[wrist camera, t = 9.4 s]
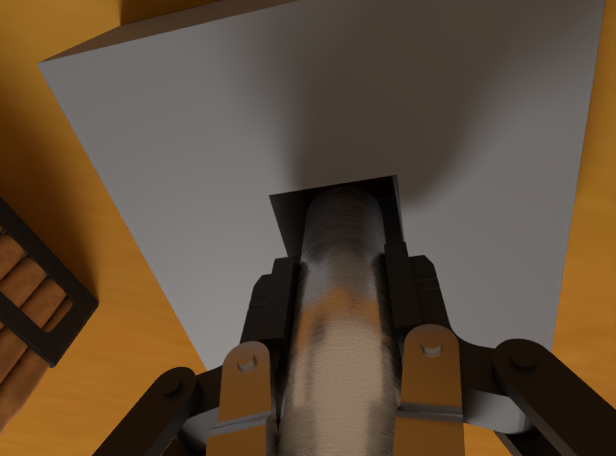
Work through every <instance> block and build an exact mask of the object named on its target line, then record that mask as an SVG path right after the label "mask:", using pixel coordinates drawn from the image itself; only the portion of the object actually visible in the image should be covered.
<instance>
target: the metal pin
mask: <svg viewBox="0 0 616 456" xmlns="http://www.w3.org/2000/svg"><path fill="white" fill-rule="evenodd" d="M384 244H386V240H385V233H384V226H383V218H382V212H381V209H380V206H379V204H378V203H377V201H376V200H375V199H374V198H373V197H372V196H371V195H370V194H368V193H367V192H365V191H363V190H360V189H358V188H354V187H335V188H331V189H328V190H326V191H324V192H322V193H320V194H319V195H318V196H317V197H315V198H314V200H313V201H312V202H311V204H310V205H309V207H308V210H307V214H306V222H305V230H304V238H303V246H302V254H301V262H300V270H299V278H298V285H297V293H296V301H295V309H294V317H293V325H292V333H291V341H290V349H289V357H288V365H287V373H286V381H285V389H284V397H283V405H282V413H281V421H280V429H279V440H278V456H393V445H394V432H395V419H396V411H397V408H398V407H400V399H401V385H402V370H403V365H402V357H401V352H400V349H399V347H398V345H397V342H396V336H395V329H394V322H393V314H392V306H391V298H390V291H389V283H388V275H387V267H386V259H385V252H384Z"/></svg>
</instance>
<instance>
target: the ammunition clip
mask: <svg viewBox="0 0 616 456" xmlns="http://www.w3.org/2000/svg"><path fill="white" fill-rule="evenodd" d="M97 307H98V301H97V300H96V299H95V298H94V297H93V296H92V295H91V294H90V293H89V291H88V290H87V289H86V288H85V287H84V286H83V285H82V284H81V283H80V282H79V281H78V280H77V279H76V277H75V276H74V275H73V274H72V273H71V272H70V271H69V270H68V269H67V268H66V267H65V266H64V265H63V263H62V262H61V261H60V260H59V259H58V258H57V257H56V256H55V255H54V254H53V253H52V252H51V251H50V249H49V248H48V247H47V246H46V245H45V244H44V243H43V242H42V241H41V240H40V239H39V238H38V237H37V235H36V234H35V233H34V232H33V231H32V230H31V229H30V228H29V227H28V226H27V225H26V224H25V223H24V221H23V220H22V219H21V218H20V217H19V216H18V215H17V214H16V213H15V212H14V211H13V210H12V209H11V208H10V206H9V205H8V204H7V203H6V202H5V201H4V200H3V199H2V198H1V197H0V434H1V433H2V431H3V430H4V429H5V427H6V426H7V425H8V424H9V423H10V422H11V421H12V420H13V418H14V417H15V416H16V415H17V414H18V413H19V412H20V410H21V409H22V408H23V406H24V405H25V403H26V402H27V400H28V399H29V397H30V396H31V394H32V393H33V391H34V390H35V388H36V387H37V385H38V384H39V382H40V381H41V379H42V378H43V376H44V375H45V373H46V372H47V370H48V369H49V367H50V368H53V367H55V366H56V365H57V363H58V362H59V360H60V359H61V358H62V356H63V355H64V353H65V352H66V350H67V349H68V348H69V346H70V345H71V343H72V342H73V341H74V339H75V338H76V336H77V335H78V334H79V332H80V331H81V329H82V328H83V327H84V325H85V324H86V322H87V321H88V320H89V318H90V317H91V316H92V314H93V313H94V311H95V310H96V309H97Z"/></svg>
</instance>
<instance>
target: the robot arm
mask: <svg viewBox="0 0 616 456" xmlns="http://www.w3.org/2000/svg"><path fill="white" fill-rule="evenodd" d="M384 252H385V259H386V267H387V275H388V283H389V291H390V298H391V306H392V314H393V322H394V329H395V336H396V342H397V345H398V347H399V349H400V352H401V357H402V365H403V370H402V385H401V399H400V407H398V408H397V411H396V419H395V432H394V445H393V456H465V445H464V426H463V423H467V424H471V425H475V426H479V427H483V428H487V429H491V430H493V431H494V433H495V434H496V435H497V437H498V438H499V439H500V440H501V442H502V443H503V444H504V445H505V447H506V448H507V449H508V450H509V452H510V453H511V454H512V455H513V456H616V410H615V409H614V408H613V407H612V406H611V405H610V404H609V403H607V402H606V401H605V400H604V399H603V398H602V397H601V396H599V395H598V394H597V393H596V392H595V391H594V390H593V389H592V388H590V387H589V386H588V385H587V384H586V383H585V382H584V381H583V380H581V379H580V378H579V377H578V376H577V375H576V374H575V373H573V372H572V371H571V370H570V369H569V368H568V367H567V366H566V365H564V364H563V363H562V362H561V361H560V360H559V359H558V358H556V357H555V356H554V355H553V354H552V353H551V352H550V351H549V350H547V349H546V348H545V347H544V346H542V345H540V344H539V343H536V342H534V341H531V340H528V339H520V338H515V339H509V340H506V341H503V342H501V343H500V344H499V345H498V346H497V347H496V348H489V347H483V346H478V345H474V344H471V343H469V342H466V341H464V340H463V339H461V338H460V337H459V336H458V335H456V333H455V332H454V331H453V329H452V328H451V325H450V322H449V318H448V315H447V311H446V307H445V304H444V300H443V296H442V292H441V289H440V285H439V281H438V279H437V274H436V270H435V267H434V264H433V263H432V262H431V261H430V260H429V259H428V258H427V257H426V256H425V255H419V256H411V257H409V256H408V251H407V246H406V242H397V243H390V244H384ZM299 270H300V263H299V260H298V257H297V256H290V257H282V258H275V260H274V263H273V268H272V273H271V274H266V275H262V276H261V277H260V278H259V280H258V281H257V282H256V284H255V285H254V286H253V290H252V295H251V300H250V303H249V307H248V308H249V310H248V311H247V315H246V319H245V323H244V327H243V331H242V335H241V339H240V343H239V345H238V346H236V347H234V348H233V349H232V350H231V351H230V352H229V353H228V354H227V356H226V357H225V359H224V362H223V365H221V366H219V367H217V368H215V369H212V370H209V371H207V372H204V373H201V374H199V375H195V373H194V372H193V371H192V370H191V369H189V368H187V367H177V368H173V369H170V370H168V371H166V372H165V373H163V374H162V375H161V376H160V377H158V378H157V379H156V381H155V382H154V383H153V384H152V385H151V386H150V388H149V389H148V390H147V391H146V392H145V394H144V395H143V396H142V397H141V398H140V399H139V401H138V402H137V403H136V404H135V405H134V406H133V408H132V409H131V410H130V411H129V412H128V414H127V415H126V416H125V417H124V418H123V419H122V421H121V422H120V423H119V424H118V425H117V427H116V428H115V429H114V430H113V431H112V432H111V434H110V435H109V436H108V437H107V438H106V440H105V441H104V442H103V443H102V444H101V445H100V447H99V448H98V449H97V450H96V451H95V453H94V454H93V455H92V456H278V440H279V429H280V421H281V413H282V405H283V397H284V389H285V381H286V373H287V365H288V357H289V349H290V341H291V333H292V325H293V317H294V309H295V301H296V293H297V285H298V278H299ZM173 438H174V439H173ZM172 439H173V440H172ZM170 442H171V443H170ZM168 445H169V446H168ZM167 446H168V447H167ZM165 449H166V450H165ZM164 450H165V451H164ZM162 453H163V454H162Z"/></svg>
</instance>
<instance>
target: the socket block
mask: <svg viewBox="0 0 616 456" xmlns="http://www.w3.org/2000/svg"><path fill="white" fill-rule="evenodd" d="M605 1H606V0H222V1H218V2H214V3H210V4H206V5H202V6H198V7H194V8H190V9H186V10H182V11H178V12H174V13H170V14H166V15H162V16H158V17H154V18H150V19H146V20H142V21H138V22H134V23H130V24H126V25H121V26H119V27H116V28H114V29H112V30H110V31H107V32H105V33H103V34H101V35H99V36H96V37H94V38H92V39H90V40H88V41H85V42H83V43H81V44H79V45H76V46H74V47H72V48H70V49H68V50H65V51H63V52H61V53H59V54H57V55H54V56H52V57H50V58H48V59H45V60H43V61H41V62H39V63H37V66H38V68H39V69H40V71H41V73H42V75H43V77H44V78H45V80H46V82H47V84H48V86H49V87H50V89H51V91H52V93H53V94H54V96H55V98H56V100H57V102H58V103H59V105H60V107H61V109H62V111H63V112H64V114H65V116H66V118H67V120H68V121H69V123H70V125H71V127H72V129H73V130H74V132H75V134H76V136H77V138H78V139H79V141H80V143H81V145H82V147H83V148H84V150H85V152H86V154H87V155H88V157H89V159H90V161H91V163H92V164H93V166H94V168H95V170H96V172H97V173H98V175H99V177H100V179H101V181H102V182H103V184H104V186H105V188H106V190H107V191H108V193H109V195H110V197H111V199H112V200H113V202H114V204H115V206H116V208H117V209H118V211H119V213H120V215H121V216H122V218H123V220H124V222H125V224H126V225H127V227H128V229H129V231H130V233H131V234H132V236H133V238H134V240H135V242H136V243H137V245H138V247H139V249H140V251H141V252H142V254H143V256H144V258H145V260H146V261H147V263H148V265H149V267H150V269H151V270H152V272H153V274H154V276H155V277H156V279H157V281H158V283H159V285H160V286H161V288H162V290H163V292H164V294H165V295H166V297H167V299H168V301H169V303H170V304H171V306H172V308H173V310H174V312H175V313H176V315H177V317H178V319H179V321H180V322H181V324H182V326H183V328H184V330H185V331H186V333H187V335H188V337H189V338H190V340H191V342H192V344H193V346H194V347H195V349H196V351H197V353H198V355H199V356H200V358H201V360H202V362H203V364H204V365H205V367H206V369H207V371H209V370H212V369H215V368H217V367H219V366H221V365H223V362H224V359H225V357H226V356H227V354H228V353H229V352H230V351H231V350H232V349H233V348H234V347H236V346H238V345H239V343H240V339H241V335H242V331H243V327H244V323H245V319H246V315H247V311H248V310H249V308H248V307H249V303H250V300H251V295H252V290H253V286H254V285H255V284H256V282H257V281H258V280H259V278H260V277H261V276H262V275H266V274H271V273H272V268H273V263H274V260H275V258H282V257H290V256H297V257H298V260H299V263H300V262H301V254H302V246H303V238H304V230H305V222H306V214H307V210H308V209H307V207H306V203H305V199H304V196H303V192H302V190H304V189H310V188H316V187H323V186H329V185H335V184H341V183H348V182H354V181H360V180H366V179H373V178H379V177H385V176H391V182H392V190H393V196H389V197H383V198H376V199H375V200H376V201H377V203H378V204H379V206H380V209H381V212H382V218H383V226H384V233H385V240H386V244H390V243H397V242H406V246H407V251H408V256H409V257H411V256H419V255H425V256H426V257H427V258H428V259H429V260H430V261H431V262H432V263H433V264H434V267H435V270H436V274H437V279H438V281H439V285H440V289H441V292H442V296H443V300H444V304H445V307H446V311H447V315H448V318H449V322H450V325H451V328H452V329H453V331H454V332H455V333H456V335H458V336H459V337H460V338H461V339H463V340H464V341H466V342H469V343H471V344H474V345H478V346H483V347H489V348H496V347H497V346H498V345H499V344H500V343H501V342H503V341H506V340H509V339H515V338H520V339H528V340H531V341H534V342H536V343H539V344H540V345H542V346H544V347H545V348H546V349H547V350H549V351H550V352H551V349H552V342H553V336H554V329H555V323H556V316H557V310H558V303H559V297H560V291H561V284H562V278H563V271H564V265H565V258H566V252H567V245H568V239H569V233H570V226H571V220H572V213H573V207H574V200H575V194H576V188H577V181H578V175H579V168H580V162H581V155H582V149H583V142H584V136H585V130H586V123H587V117H588V110H589V104H590V97H591V91H592V84H593V78H594V72H595V65H596V59H597V52H598V46H599V39H600V33H601V26H602V20H603V14H604V7H605Z"/></svg>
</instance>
